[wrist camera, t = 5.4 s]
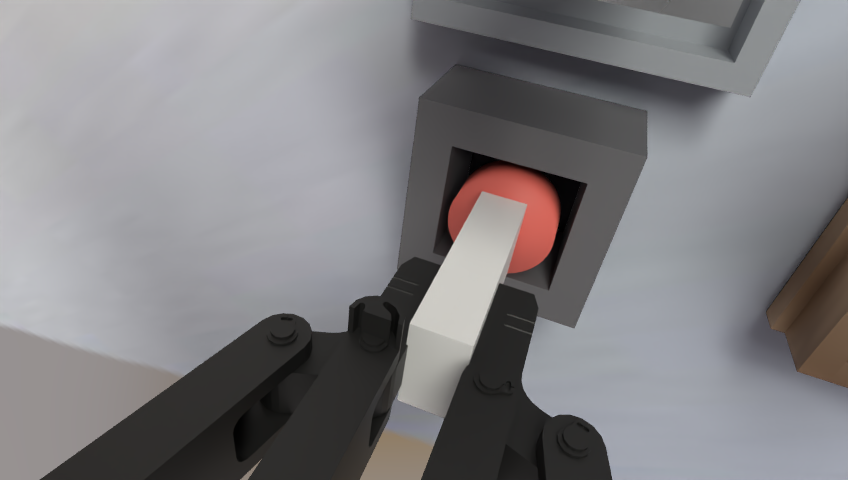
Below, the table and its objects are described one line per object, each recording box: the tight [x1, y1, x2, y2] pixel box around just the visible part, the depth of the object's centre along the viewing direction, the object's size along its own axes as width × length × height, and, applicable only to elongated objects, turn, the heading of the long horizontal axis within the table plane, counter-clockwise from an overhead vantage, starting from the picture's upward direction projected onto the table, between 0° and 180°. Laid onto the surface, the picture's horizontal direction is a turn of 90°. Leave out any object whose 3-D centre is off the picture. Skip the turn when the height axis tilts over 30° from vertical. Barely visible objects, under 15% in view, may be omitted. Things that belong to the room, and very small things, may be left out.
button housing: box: [397, 65, 647, 328], centre depth 19 cm, size 7×7×4 cm
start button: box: [448, 160, 561, 273], centre depth 18 cm, size 4×4×2 cm
